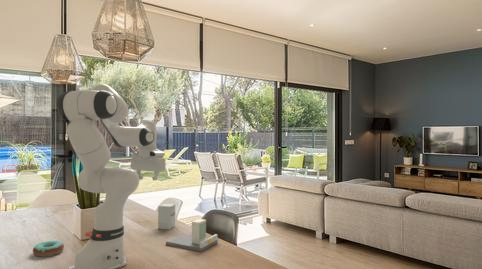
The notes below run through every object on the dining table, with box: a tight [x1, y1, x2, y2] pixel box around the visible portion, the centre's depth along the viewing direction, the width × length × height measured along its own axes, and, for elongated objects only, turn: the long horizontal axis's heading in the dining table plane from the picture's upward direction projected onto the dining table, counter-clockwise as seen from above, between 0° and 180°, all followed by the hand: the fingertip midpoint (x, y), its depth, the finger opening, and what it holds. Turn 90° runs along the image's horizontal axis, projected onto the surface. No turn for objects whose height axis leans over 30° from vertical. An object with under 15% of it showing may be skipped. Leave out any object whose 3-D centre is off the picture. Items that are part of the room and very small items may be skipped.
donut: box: [32, 240, 65, 258], centre depth 148 cm, size 12×12×4 cm
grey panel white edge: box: [165, 233, 218, 252], centre depth 162 cm, size 14×20×4 cm
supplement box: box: [157, 203, 176, 230], centre depth 188 cm, size 7×7×13 cm
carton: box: [191, 218, 207, 244], centre depth 160 cm, size 6×4×10 cm
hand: (147, 179), depth 171 cm, fingers open, 8 cm apart
